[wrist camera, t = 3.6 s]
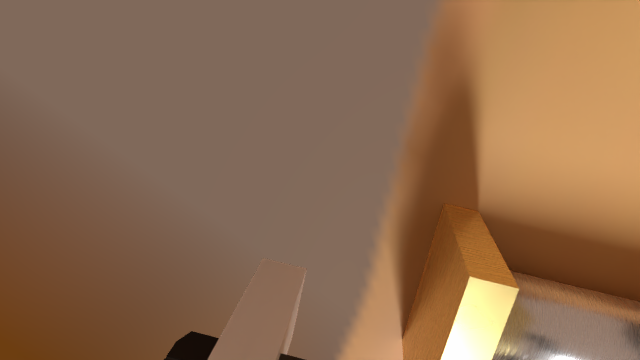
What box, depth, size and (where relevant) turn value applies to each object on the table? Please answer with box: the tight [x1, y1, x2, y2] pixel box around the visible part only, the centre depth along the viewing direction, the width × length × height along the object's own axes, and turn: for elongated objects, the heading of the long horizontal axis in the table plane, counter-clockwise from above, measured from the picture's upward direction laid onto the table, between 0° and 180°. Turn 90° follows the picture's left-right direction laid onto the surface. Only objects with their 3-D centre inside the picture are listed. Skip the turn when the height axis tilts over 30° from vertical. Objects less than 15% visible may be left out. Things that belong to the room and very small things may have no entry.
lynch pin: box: [402, 203, 640, 360], centre depth 16 cm, size 10×7×6 cm, turn 79°
